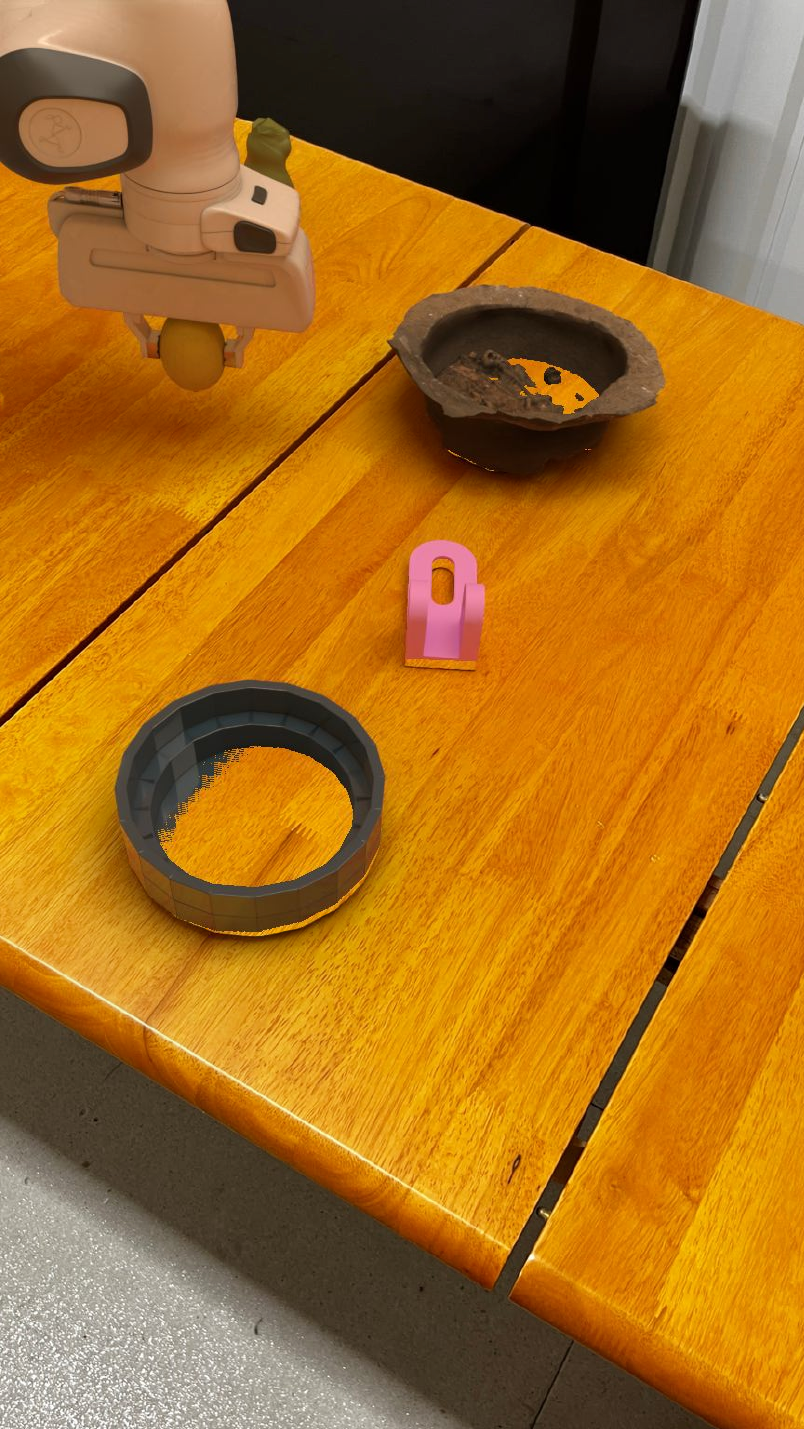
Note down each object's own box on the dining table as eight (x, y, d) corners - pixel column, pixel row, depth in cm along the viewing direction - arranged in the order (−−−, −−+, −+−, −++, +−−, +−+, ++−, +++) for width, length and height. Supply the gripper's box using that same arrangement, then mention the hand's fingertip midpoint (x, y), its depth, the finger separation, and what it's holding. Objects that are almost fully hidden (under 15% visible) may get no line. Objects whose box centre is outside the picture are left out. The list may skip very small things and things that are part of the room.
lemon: (226, 370, 108) (221, 287, 101) (230, 410, 105) (226, 327, 98) (162, 371, 107) (153, 288, 100) (164, 411, 104) (156, 328, 97)
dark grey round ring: (104, 931, 80) (89, 884, 76) (153, 722, 91) (143, 669, 86) (370, 952, 81) (373, 907, 76) (389, 742, 91) (393, 691, 86)
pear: (234, 212, 130) (228, 116, 122) (273, 197, 133) (270, 102, 125) (266, 236, 128) (262, 140, 120) (306, 220, 131) (305, 125, 122)
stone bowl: (456, 531, 105) (461, 439, 97) (350, 377, 119) (347, 286, 111) (702, 467, 112) (724, 376, 104) (574, 328, 126) (585, 240, 118)
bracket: (475, 671, 96) (484, 609, 90) (404, 666, 96) (409, 604, 90) (475, 554, 104) (484, 491, 98) (409, 550, 103) (414, 486, 98)
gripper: (32, 205, 90) (61, 367, 101) (311, 239, 91) (309, 395, 102) (52, 161, 93) (78, 322, 105) (320, 194, 95) (317, 350, 106)
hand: (194, 359), depth 103 cm, fingers closed on lemon, 5 cm apart
